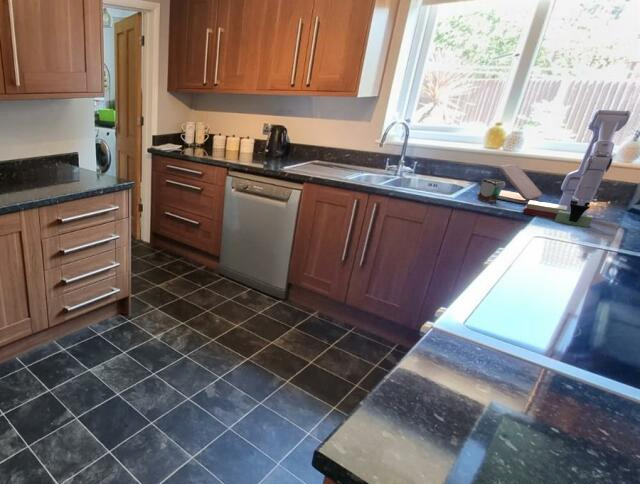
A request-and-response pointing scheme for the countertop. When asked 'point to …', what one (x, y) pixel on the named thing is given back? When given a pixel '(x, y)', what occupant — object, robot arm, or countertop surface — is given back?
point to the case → (518, 186)
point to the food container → (490, 190)
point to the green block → (564, 218)
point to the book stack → (543, 209)
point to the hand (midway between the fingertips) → (572, 220)
